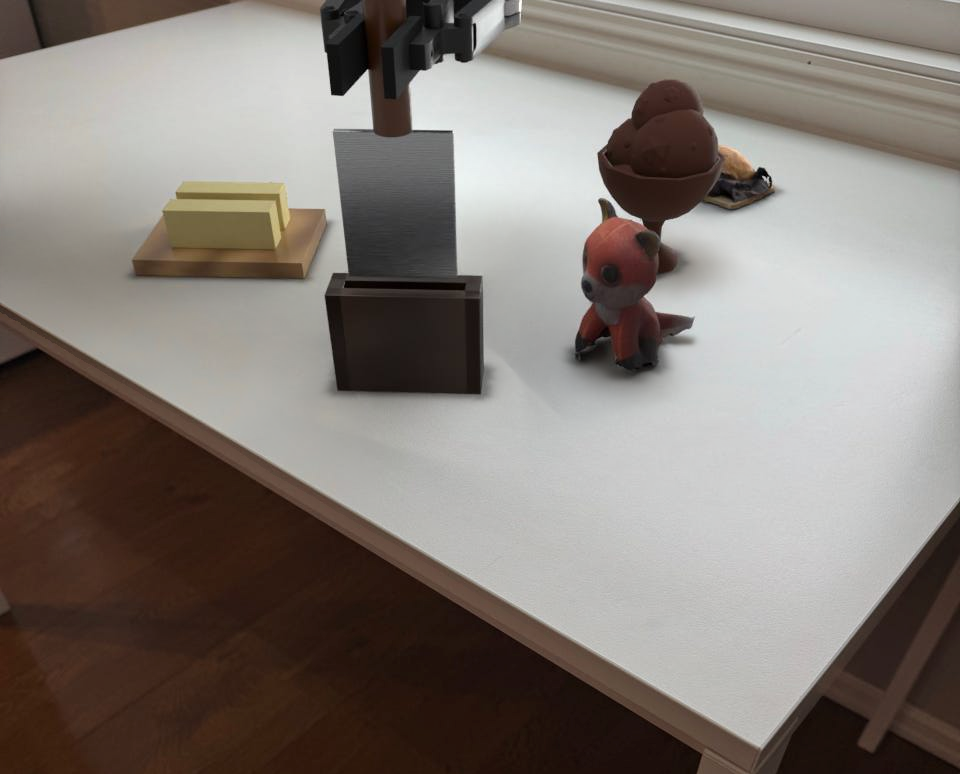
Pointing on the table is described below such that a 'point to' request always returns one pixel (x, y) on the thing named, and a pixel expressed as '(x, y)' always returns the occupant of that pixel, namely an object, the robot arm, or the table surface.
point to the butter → (227, 215)
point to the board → (236, 253)
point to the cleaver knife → (395, 177)
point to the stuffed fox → (624, 292)
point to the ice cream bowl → (662, 159)
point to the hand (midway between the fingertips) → (361, 71)
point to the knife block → (406, 333)
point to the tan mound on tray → (738, 182)
